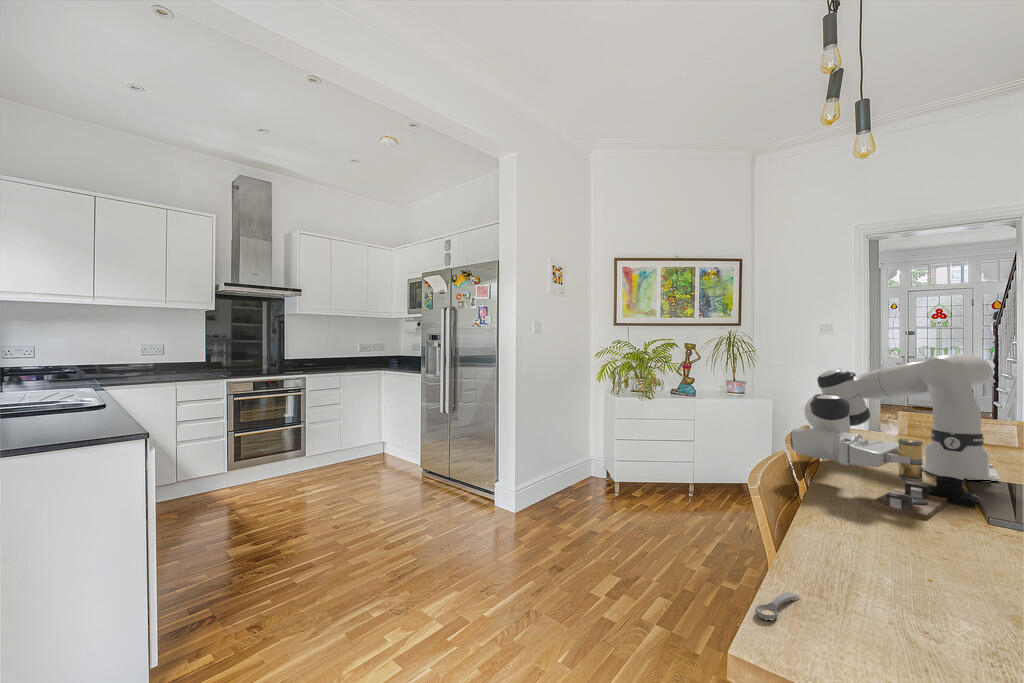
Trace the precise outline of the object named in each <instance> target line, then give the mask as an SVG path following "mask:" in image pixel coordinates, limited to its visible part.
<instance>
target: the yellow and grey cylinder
mask: <svg viewBox="0 0 1024 683" xmlns="http://www.w3.org/2000/svg"><path fill="white" fill-rule="evenodd" d="M897 443H899V455H901V456H902V455H905V456H910V457H911V458H912V462H911V463H910V464H906V463H898V479H899V480H903V481H910V482H915V483H920V482H923V480H924V478H923V470H922V465H924V464H923V463H924V462H923V441H921V440H915V439H909V438H908V439H907V438H903V439H902V438H899V439H898V440H897Z"/></svg>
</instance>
